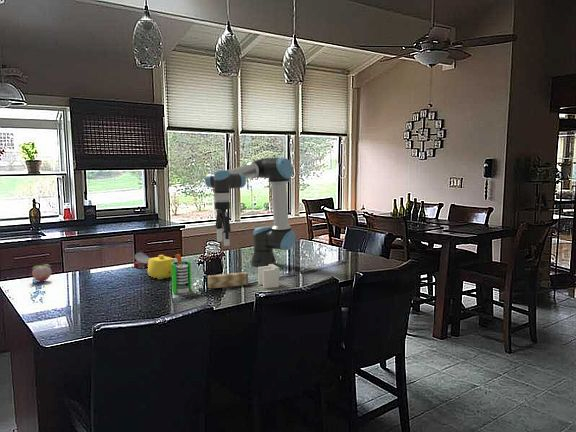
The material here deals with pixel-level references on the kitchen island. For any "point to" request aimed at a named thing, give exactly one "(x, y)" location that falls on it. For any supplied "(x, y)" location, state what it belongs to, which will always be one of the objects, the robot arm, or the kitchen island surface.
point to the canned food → (141, 260)
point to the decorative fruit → (41, 272)
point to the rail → (227, 280)
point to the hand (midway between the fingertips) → (223, 243)
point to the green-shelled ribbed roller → (181, 275)
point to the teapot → (160, 267)
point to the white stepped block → (268, 276)
